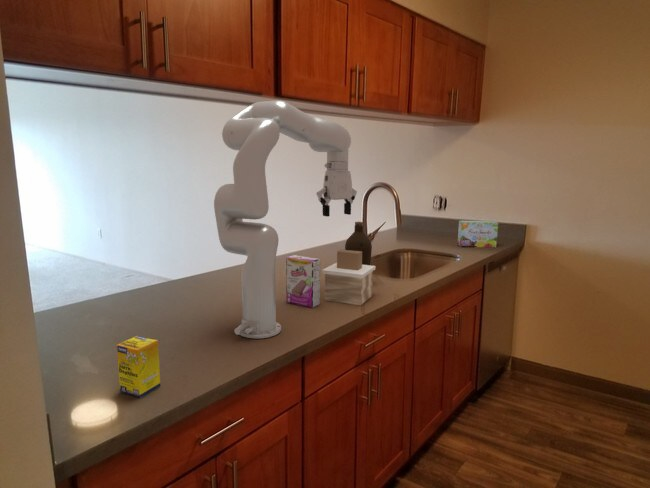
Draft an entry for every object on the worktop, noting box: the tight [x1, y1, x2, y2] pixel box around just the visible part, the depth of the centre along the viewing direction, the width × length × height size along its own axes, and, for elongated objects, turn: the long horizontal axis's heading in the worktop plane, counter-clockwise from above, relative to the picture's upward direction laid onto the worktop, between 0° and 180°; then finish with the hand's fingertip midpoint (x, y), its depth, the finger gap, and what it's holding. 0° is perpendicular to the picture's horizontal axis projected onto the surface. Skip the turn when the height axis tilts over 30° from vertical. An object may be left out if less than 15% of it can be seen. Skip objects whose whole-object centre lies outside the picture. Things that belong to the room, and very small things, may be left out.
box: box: [324, 271, 374, 306], centre depth 164 cm, size 12×13×10 cm
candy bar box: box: [285, 254, 321, 309], centre depth 156 cm, size 11×5×16 cm, turn 59°
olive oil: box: [344, 221, 373, 265], centre depth 182 cm, size 11×11×25 cm
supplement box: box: [116, 335, 161, 399], centre depth 98 cm, size 6×6×11 cm
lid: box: [321, 249, 376, 278], centre depth 162 cm, size 14×15×7 cm
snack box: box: [456, 220, 499, 248], centre depth 263 cm, size 21×6×15 cm, turn 90°
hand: (336, 215), depth 164 cm, fingers open, 9 cm apart
